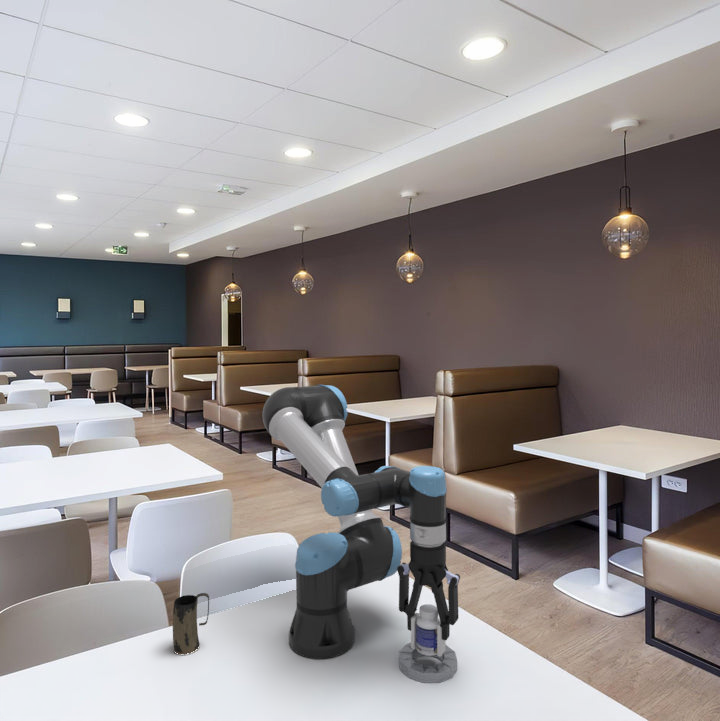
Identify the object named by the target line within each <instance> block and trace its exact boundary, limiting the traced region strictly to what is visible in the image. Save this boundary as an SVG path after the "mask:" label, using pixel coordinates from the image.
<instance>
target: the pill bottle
mask: <svg viewBox="0 0 720 721" xmlns="http://www.w3.org/2000/svg"><path fill="white" fill-rule="evenodd" d="M418 613H419V617H418V618H417V621H416V649H417V651H418V652H419V653H421V654H423V655H427V657H429V656H430V657H433V656H434V655H437V625H438V624H439V623H440V618H439V614H438V610H437V606H436V605H434V604H427V603H426V604H422V605H420V606H419V612H418Z"/></svg>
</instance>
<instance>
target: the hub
mask: <svg viewBox="0 0 720 721" xmlns="http://www.w3.org/2000/svg"><path fill="white" fill-rule="evenodd" d="M423 656H427V655H423V654H421V653H419V652H418V651H417V649H416V648H415V649H413V648H411V642H409V643H406V644H404V646H403V647H402V648H401V649H400V650H399V651H398V664H399V670H400V671H401V672H402V673H403V674H404V675H406V677H408V678H409V679H411V680H414V681H417V682H420V683H423V684H435V683H436V684H437V683H438V684H440V683H442V682H445V681H447V680H450V679H452V678H453V677H454V676H455V674H456V673H457V670H458V659H457V654H456V651H455V650H454V649H452V648H451V647H449V645H447V644H445V652H444V653H443V654H442V656H441V657H439V656H437V655H434V656H432V657H433V658H436V659H438V660H439V661H441V663H438V664H435V665H423V664H421V663H419V662H417V661H415V660H414V659H417V658H419V657H423ZM427 657H428V656H427Z"/></svg>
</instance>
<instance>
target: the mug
mask: <svg viewBox="0 0 720 721" xmlns="http://www.w3.org/2000/svg"><path fill="white" fill-rule="evenodd" d="M200 597H207V614H206V621H205V622H199V624H198V598H200ZM209 610H210V595H209V594H208V593H206V592H200V593H199V594H197V595H193V594H186V595H182V596H181V595H180V596H179V597H177V598H176V599H175V600H174V602H173V610H172V611H173V612H172V643H173V652H174V651H175V652H176V653H178V654H187V653H191V652H193V651H195V650H196V649H198V647H199V646H200V641H199V632H198V626H205V625H207V623H208V619H209V613H210V611H209ZM199 648H200V647H199ZM198 650H199V649H198ZM175 652H174V653H175ZM176 653H175V654H176Z"/></svg>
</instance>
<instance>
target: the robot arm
mask: <svg viewBox="0 0 720 721" xmlns="http://www.w3.org/2000/svg"><path fill="white" fill-rule="evenodd" d="M261 415H262V422H263V425H264V428H265V429H266V431H267V433H268V434H269V435H270V436H271V437H272V439H274V440H277V441H279V442H281V443H282V444H283V445H284V446H285V447H286V448H287V449H288V450H289V452H290V453H291V454H292V455H293V456H294V458H295V459H296V460H297V461H298V462H299V464H301V466H302V467H303V468H304V469H305V470H306V472H307V473H308V474H309V475H310V477H312V478H313V479H314V481H315V482H316V483H317V485H319V487H320V488H321V490H320V491H321V492H320V501H321V504H322V505H323V508H324V511H325V512H326V513H327V515H329V516H331V517H337V518H338V521H339V524H340V528H339V530H338V532H330V531H329V532H327V533H325V532H322V533H321V532H320V533H316V534H313V535H310V536H309V537H307V538H305V539H303V540H302V541H301V543H300V544H299V545H298V547H297V549H296V556H295V563H294V567H295V576H296V577H295V581H296V582H295V583H296V584H295V585H296V586H295V589H296V591H295V592H296V596H295V597H296V609H295V612H294V614H293V617H292V620H291V623H290V624H291V625H290V627H289V632H288V644H289V647H290V648H291V650H292V651H294V653H296V654H298V655H300V656H303V657H306V658H309V659H310V658H311V659H329V658H334V657H338V656H340V655H342V654H344V653H346V652H348V651H349V650H350V649H351V648H352V647H353V646H354V644H355V642H356V640H355V639H356V637H355V636H356V631H355V626H354V623H353V621H352V617H351V613H350V611H349V608H348V591H349V590H353V589H357V588H361V587H363V586H365V585H368V584H373V583H374V582H380V581H383V580H385V579H386V578H389V577H392V576H394V575H395V574H396V573H397V574H398V577H399V578H398V579H399V580H398V581H399V584H398V585H399V587H398V610H399V612H401V613H405V614H406V616H407V618H406V619H407V623H406V624H407V625H406V626H407V627H406V628H407V630H408V631H410V643H411V648H413V649H415V648H416V621H417V618H418V617H419V616H420V613H419V612H417V611H418V605H419V601H420V597H421V593H422V590H423V587H425V586H426V587H428V588H430V590H431V593H432V594H433V597H434V601H435V606H436V607H437V610H438V617H439V618H440V623H439V624H438V625H437V656H439V657H441V656H442V654H443V653H444V652H445V645H446V641H447V640H448V639H449V637H450V633H451V632H450V630H451V628H450V626H454V625H455V623H456V622H457V621H458V620H459V618H460V617H459V588H458V587H459V583H460V579H461V576H460V573H459V574H458V573H456V574H454V573H452V572H450V571H449V569H448V566H447V564H446V563H447V544H446V540H447V518H446V517H447V516H446V513H447V488H448V487H447V482H446V473H445V471H444V469H443V468H440V467H437V466H431V465H419V466H415V467H412V468H411V469H410V471H408V470H406V469H402V468H400V467H397V466H390V465H383V466H380V467H379V468H378V469H377V470H375V471H374V472H371V473H370V472H369V473H365V474H360V475H359V473H358V470H357V467H356V465H355V462H354V460H353V457H352V454H351V451H350V449H349V446H348V443H347V441H346V440H347V439H346V438H345V436H344V432H343V430H344V428H345V425H346V422H345V421H346V420H347V417H348V403H347V399H346V398H345V396H344V393H343V392H342V391H341V390H340V389H339V388H338V387H336V386H334V385H328V384H327V385H326V384H325V385H324V384H317V385H307V386H293V387H292V386H288V387H282V388H280V389H277V390H276V391H274V392H273V393H272V394H270V395H269V397H268V398H267V399H266V401H265V403H264V405H263V408H262V414H261ZM393 505H399V506H402V507H404V508H407V509H409V525H410V526H409V527H410V528H409V530H410V532H409V534H410V535H409V538H410V540H411V541H410V543H409V549H410V550H409V555H410V556H409V558H410V561H409V562H408V563H406V562H402V559H403V548H402V542H401V539H400V537H399V534H398V533H397V531H396V530H394V528H393V527H391V526H387V525H385V524H384V522H383V519H382V517H381V516H379V515H377V514H375V513H374V512H373V511H372V510H374V509H375V510H376V509H379V508H384V507H388V506H393ZM410 572H411V573H410ZM410 574H412V576H413V578H414V581H413V584H412V591H411V594H410ZM445 578H446V583H447V585H448V588H447V591H448V592H447V595H448V596H447V597H448V598H447V599H448V601H447V600H446V596H445V591H444V584H443V580H444V579H445ZM409 596H410V597H409ZM447 602H448V603H447Z"/></svg>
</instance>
